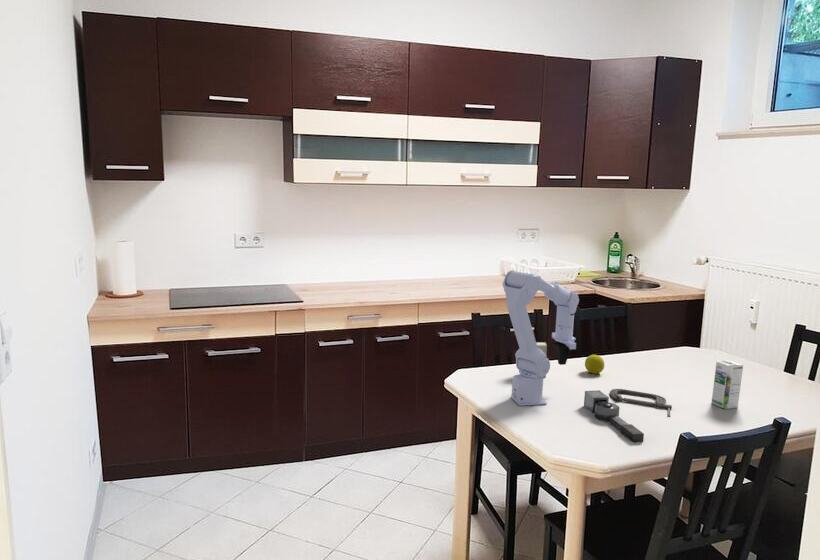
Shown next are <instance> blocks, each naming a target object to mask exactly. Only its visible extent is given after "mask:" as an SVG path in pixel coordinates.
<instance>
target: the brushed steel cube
mask: <svg viewBox="0 0 820 560" xmlns="http://www.w3.org/2000/svg"><path fill="white" fill-rule="evenodd" d="M583 397H584V399H583V407H585V409H586V410H588V411H589V410H590V411H589V412H590V413H592V414H595V404H596V400H604V401H605V402H609V400H610V399H609V396H608V395H607V394H605V393H604V392H602V390H585V391H584V396H583Z"/></svg>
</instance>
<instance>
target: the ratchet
mask: <svg viewBox="0 0 820 560" xmlns="http://www.w3.org/2000/svg"><path fill="white" fill-rule="evenodd" d="M593 414H594V416H593V417H594V418H595V419H597V420H598V421H601V422H607V423H609V424H610V425H611V426H612V427H614V428H615V429H616V430H617V431H619V432H620V434H622V435H623V436H624V437H626V439H628V440H629V441H631V442H632V443H640V442H644V438H645V437H644V435H645V433H644V432H642V431H641V430H640V429H639V428H637V427H636V426H634V425H633V424H630V423H627V421H625V420H624V419H622V418H621V417H620V406H619V405H618V404H616V403H613V402H605V401H604V400H596V404H595V413H593Z"/></svg>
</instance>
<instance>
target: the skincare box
mask: <svg viewBox="0 0 820 560" xmlns="http://www.w3.org/2000/svg"><path fill="white" fill-rule="evenodd" d="M536 344H537V347H538V348H540V349H541V350H542V351H543V352H544V353H545V355H546V357H547V353H548V352H547V351H548V349H547V347H548V345H547V342H542V341H541V342H538V341H536ZM547 358H548V357H547ZM546 377H547V375H546V376H544V377H543V378H546Z"/></svg>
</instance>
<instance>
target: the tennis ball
mask: <svg viewBox="0 0 820 560" xmlns="http://www.w3.org/2000/svg"><path fill="white" fill-rule="evenodd" d="M584 367H585V369H586V371H587V372H589V374H593V375H597V374H600V373H602V371H603V370H604V369H605V361H604V359H603V357H602V356H600V355H597V354H591V355H588V356H587V357H586V358H585V361H584Z"/></svg>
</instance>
